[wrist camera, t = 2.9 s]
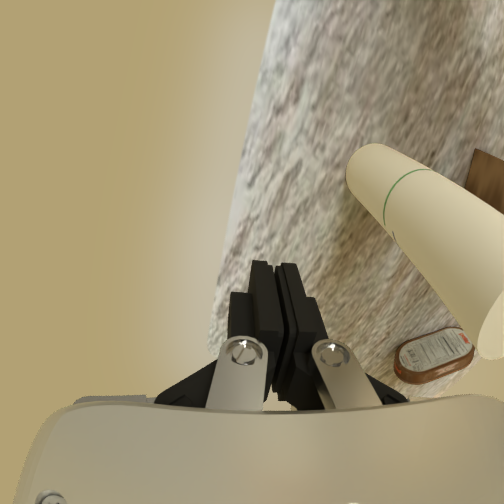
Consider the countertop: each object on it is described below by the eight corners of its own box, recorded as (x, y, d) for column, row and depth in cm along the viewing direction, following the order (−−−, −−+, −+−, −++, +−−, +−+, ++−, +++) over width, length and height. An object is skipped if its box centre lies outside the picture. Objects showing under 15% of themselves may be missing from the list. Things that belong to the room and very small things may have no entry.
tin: (386, 356, 49) (403, 393, 42) (387, 343, 48) (405, 382, 41) (459, 330, 48) (480, 362, 41) (462, 317, 47) (485, 350, 39)
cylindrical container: (362, 213, 37) (480, 377, 15) (334, 163, 34) (471, 308, 12) (410, 183, 35) (558, 313, 13) (386, 132, 32) (565, 229, 10)
